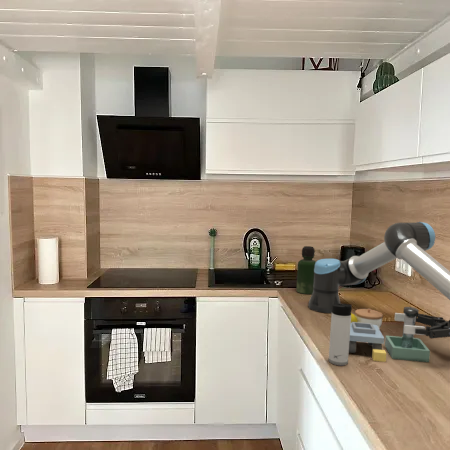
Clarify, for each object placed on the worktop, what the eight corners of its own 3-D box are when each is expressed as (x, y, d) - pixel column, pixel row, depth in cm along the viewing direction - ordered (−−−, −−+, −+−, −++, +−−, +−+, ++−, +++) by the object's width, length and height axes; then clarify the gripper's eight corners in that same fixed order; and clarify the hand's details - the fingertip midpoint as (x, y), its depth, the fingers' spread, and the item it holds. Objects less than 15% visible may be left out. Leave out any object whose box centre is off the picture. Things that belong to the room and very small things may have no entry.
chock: (371, 357, 147) (372, 348, 147) (384, 358, 146) (384, 350, 146) (373, 360, 144) (374, 352, 144) (385, 362, 143) (386, 353, 143)
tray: (384, 345, 158) (385, 335, 158) (419, 349, 156) (419, 338, 156) (392, 358, 146) (392, 347, 146) (429, 362, 144) (430, 351, 144)
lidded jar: (386, 335, 169) (388, 312, 168) (361, 336, 167) (363, 313, 166) (373, 326, 180) (374, 304, 179) (349, 327, 178) (350, 305, 177)
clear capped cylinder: (397, 347, 154) (402, 306, 152) (411, 349, 153) (416, 307, 151) (400, 353, 149) (405, 310, 147) (415, 355, 148) (420, 312, 146)
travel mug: (337, 367, 138) (341, 307, 136) (324, 359, 144) (328, 301, 142) (352, 364, 140) (356, 305, 138) (339, 357, 146) (343, 300, 144)
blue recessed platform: (342, 340, 162) (344, 318, 162) (375, 343, 161) (377, 321, 160) (346, 354, 149) (348, 330, 148) (382, 358, 147) (384, 334, 146)
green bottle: (303, 295, 226) (306, 248, 224) (292, 290, 236) (295, 245, 233) (319, 293, 230) (322, 248, 228) (308, 289, 240) (310, 245, 237)
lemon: (346, 328, 175) (347, 309, 175) (359, 332, 172) (360, 312, 171) (340, 332, 171) (341, 312, 170) (353, 335, 168) (354, 315, 167)
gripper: (478, 352, 135) (407, 346, 139) (450, 326, 160) (390, 321, 163) (480, 329, 135) (409, 323, 138) (451, 307, 159) (392, 302, 162)
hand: (399, 322), depth 151 cm, fingers open, 13 cm apart
